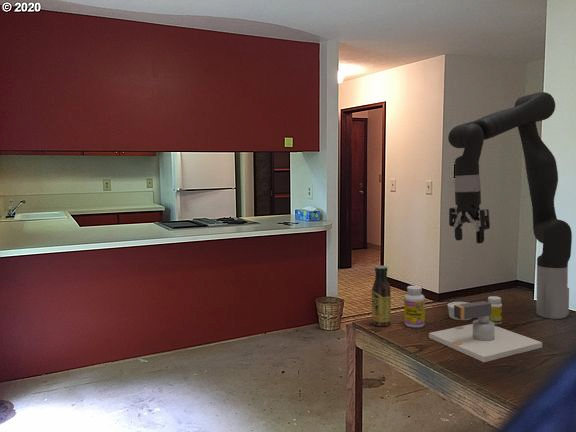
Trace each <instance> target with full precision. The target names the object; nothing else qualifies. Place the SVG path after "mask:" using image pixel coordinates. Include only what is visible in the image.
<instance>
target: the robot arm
mask: <svg viewBox="0 0 576 432" xmlns="http://www.w3.org/2000/svg"><path fill="white" fill-rule="evenodd" d="M555 111H556V101H555V98H554V97H553V95H552V94H550V93H548V92H545V91H544V92H542V91H538V92H534V93H530V94H527V95H524V96H520V97H518V98H517V99H516V101H515V102H514V106H512V107H509V108H505V109H503V110H499V111H496V112H492V113H490V114H487V115H485V116H481V118H478V119H475V120H473V121H469V122H464V123H461V124H458V125H455V126H454V127H453V128H452V129H451V130H450V131H449V133H448V138H447V140H448V142H449V144H450V146H452V147H453V148H455V149H463V152H462V154H461V155H460V156H458V157H456V158H455V160H454V202H455V203H454V205H455V206H456V207H450V208H448V209H449V211H448V216H449V217H448V225H449V227H452V228H453V229H454V238H455V241H462V240H463V228H462V227H463V226H464V224H465V223H468V224H471V225H472V226H474V229H475V230H476V232H475V234H476V235H475V237H476V239H475V240H476V241H475V242H476V244H483V243H484V242H485V231H486V230H489V229H490V228H491V223H490V210H489V209H488V208H485V209H481V208H480V206H481V204H482V196H481V195H482V193H481V189H482V188H481V179H480V178H481V177H480V158H481V154H482V150H483V146H484V141H485V140H489V139H492V138H495V137H497V136H499V135H501V134H503V133H506V132H508V131H510V130H513V129H515V128H517V130H518V133H519V137H520V138H519V139H520V141H521V146H522V151H523V156H524V157H523V158H524V163H525V172H526V179H527V183H528V189H529V196H530V201H531V211H532V231H533V235H534V237H535V239H536V241H538V242H539V243H540V244H542V251H541V252H542V253H541V254H540V255H538V256H537V257H536V315H537V316H539V317H542V318H547V319H554V320H555V319H556V320H560V319H561V320H562V319H565V318H567V316H569V315H570V313H569V312H570V288H569V287H568V283H569V281H568V278H569V277H568V274H569V272H568V271H569V270H568V269H569V267H568V266H569V261H570V259H571V255H572V241H573V233H572V228H571V226H570V225H569V223H567V221H565V220H562V219H558V218H557V217H558V216H557V214H556V207H555V196H556V193H557V188H558V184H559V173H558V172H559V171H558V166H557V161H556V158H555V156H554V154H553V153H552V151H551V150H550V149H549V148H548V146H547V145H546V144H545V142H544V141H543V140H542V139H541V136H540V134H539V132H538V127H537V123H538V122H541V121H545V120H547V119H549V118H550V117H552V116H553V114H554V113H555Z"/></svg>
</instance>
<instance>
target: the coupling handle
mask: <svg viewBox="0 0 576 432" xmlns="http://www.w3.org/2000/svg"><path fill="white" fill-rule="evenodd" d="M490 315H491V303H488V301H485V300H482V301H474V302H467V304H459V305H454V317H455V318H457V319H460V320H459V321H465V320H464V319H469V318H472V319H475V318H477V320H478V322H479V323H489V316H490Z"/></svg>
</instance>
